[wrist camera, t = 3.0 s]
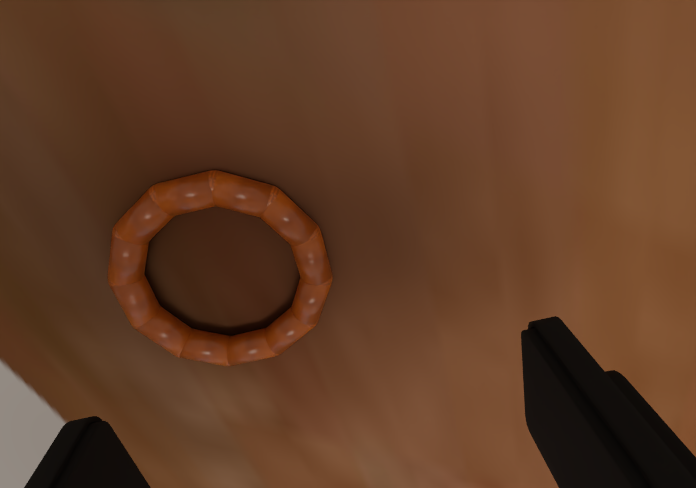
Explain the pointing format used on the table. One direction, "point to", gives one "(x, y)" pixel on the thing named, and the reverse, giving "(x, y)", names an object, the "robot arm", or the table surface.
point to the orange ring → (232, 195)
